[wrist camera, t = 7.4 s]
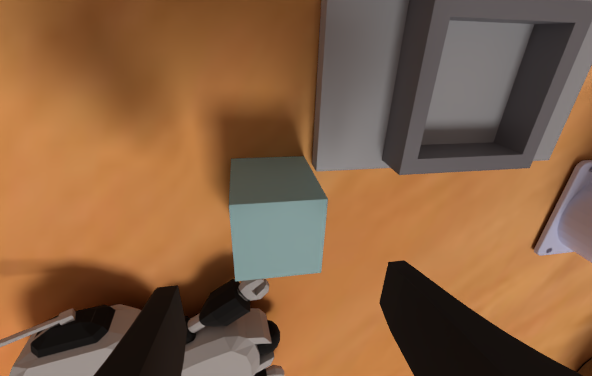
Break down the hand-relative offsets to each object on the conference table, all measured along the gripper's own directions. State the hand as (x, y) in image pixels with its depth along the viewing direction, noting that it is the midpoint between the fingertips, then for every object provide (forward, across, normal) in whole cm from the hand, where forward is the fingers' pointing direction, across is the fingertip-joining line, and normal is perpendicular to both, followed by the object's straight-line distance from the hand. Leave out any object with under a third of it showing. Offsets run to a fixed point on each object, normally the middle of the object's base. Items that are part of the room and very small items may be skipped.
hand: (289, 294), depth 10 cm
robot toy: (+8, +7, +11) cm, 15 cm away
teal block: (+8, 0, 0) cm, 8 cm away
